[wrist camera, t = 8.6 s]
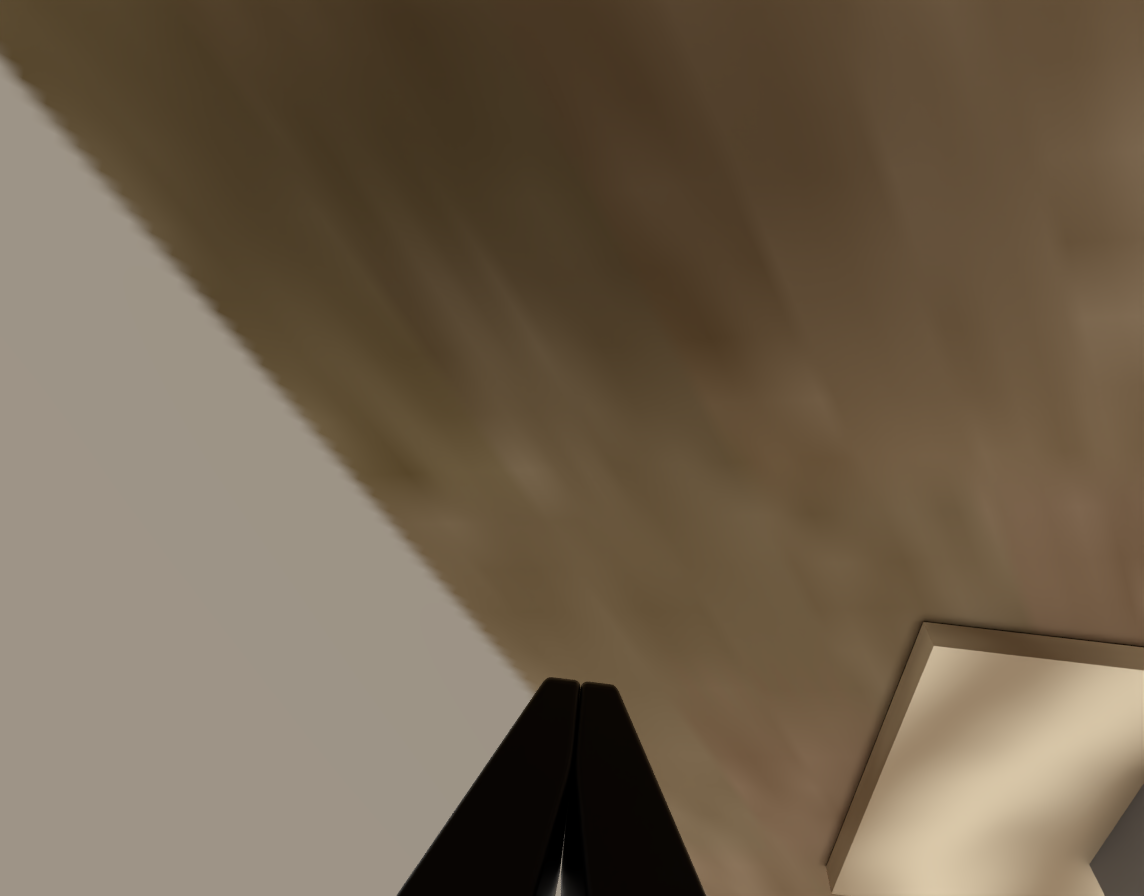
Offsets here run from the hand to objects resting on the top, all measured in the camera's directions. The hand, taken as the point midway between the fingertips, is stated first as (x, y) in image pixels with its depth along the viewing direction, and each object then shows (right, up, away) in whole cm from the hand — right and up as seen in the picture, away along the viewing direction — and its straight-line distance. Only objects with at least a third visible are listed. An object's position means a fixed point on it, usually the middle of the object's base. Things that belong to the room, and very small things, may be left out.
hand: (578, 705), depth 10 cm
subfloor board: (+18, -8, +17) cm, 26 cm away
